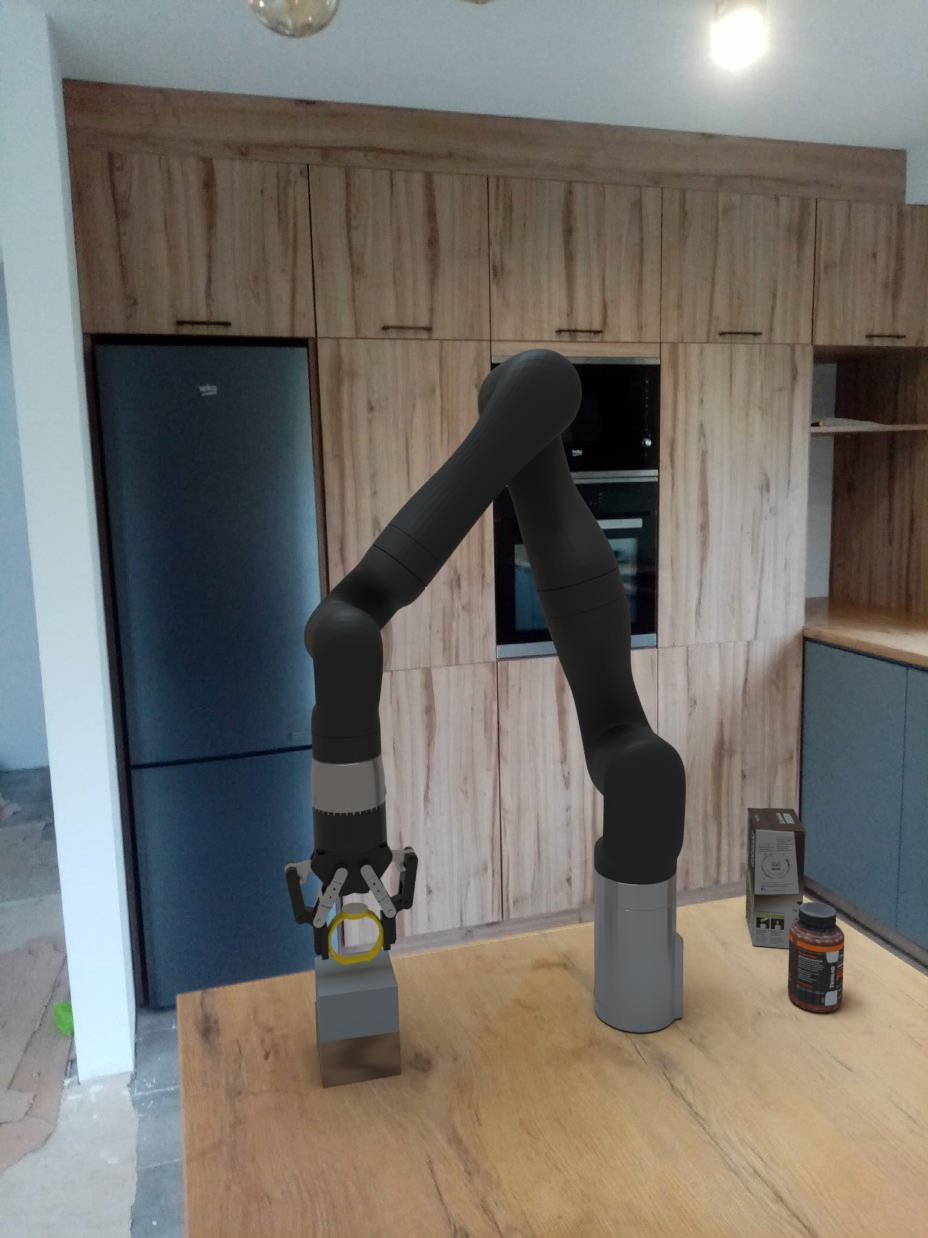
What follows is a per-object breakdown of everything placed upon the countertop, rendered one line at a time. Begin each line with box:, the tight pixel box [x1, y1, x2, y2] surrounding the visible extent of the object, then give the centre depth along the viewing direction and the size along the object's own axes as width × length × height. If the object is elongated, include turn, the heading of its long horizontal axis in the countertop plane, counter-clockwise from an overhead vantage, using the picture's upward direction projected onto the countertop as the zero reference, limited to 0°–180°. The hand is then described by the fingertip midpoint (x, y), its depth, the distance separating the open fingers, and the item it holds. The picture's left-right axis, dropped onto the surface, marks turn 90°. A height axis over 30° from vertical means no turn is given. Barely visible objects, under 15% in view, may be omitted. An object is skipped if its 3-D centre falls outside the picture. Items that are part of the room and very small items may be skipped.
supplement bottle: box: [787, 901, 845, 1013], centre depth 103 cm, size 6×6×11 cm
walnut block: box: [314, 1000, 402, 1089], centre depth 94 cm, size 8×8×5 cm
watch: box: [327, 902, 384, 966], centre depth 93 cm, size 6×3×6 cm, turn 105°
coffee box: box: [745, 807, 807, 950], centre depth 119 cm, size 9×6×16 cm
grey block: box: [313, 948, 400, 1043], centre depth 94 cm, size 8×8×5 cm
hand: (355, 951), depth 93 cm, fingers closed on watch, 6 cm apart
